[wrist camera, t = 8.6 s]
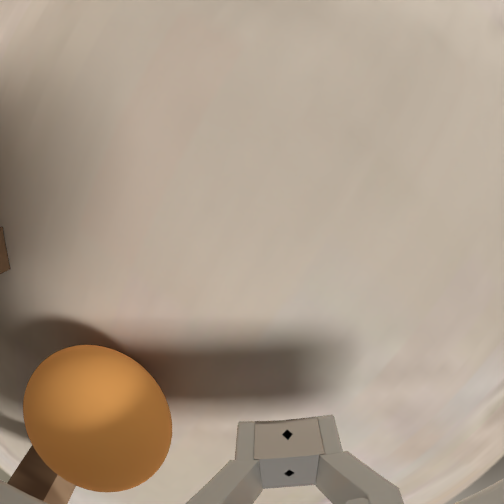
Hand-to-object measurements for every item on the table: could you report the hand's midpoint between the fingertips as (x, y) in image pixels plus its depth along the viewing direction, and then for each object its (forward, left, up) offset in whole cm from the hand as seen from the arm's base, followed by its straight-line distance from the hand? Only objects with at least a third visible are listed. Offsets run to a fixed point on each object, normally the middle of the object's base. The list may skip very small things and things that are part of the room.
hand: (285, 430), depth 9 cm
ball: (0, -7, 0) cm, 7 cm away
